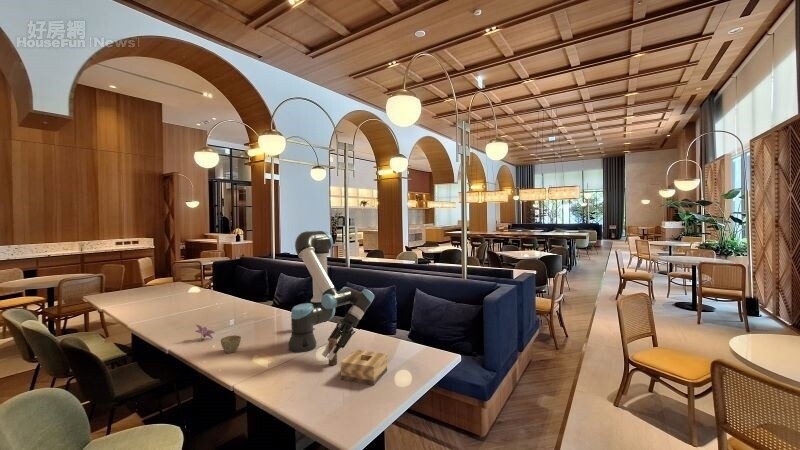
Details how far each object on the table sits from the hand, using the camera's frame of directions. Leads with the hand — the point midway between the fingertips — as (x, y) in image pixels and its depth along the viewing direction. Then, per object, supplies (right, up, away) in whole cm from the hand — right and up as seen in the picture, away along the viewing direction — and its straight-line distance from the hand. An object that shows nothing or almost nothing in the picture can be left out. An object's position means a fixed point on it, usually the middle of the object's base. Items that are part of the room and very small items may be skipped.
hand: (326, 357), depth 165 cm
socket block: (+20, -5, -9) cm, 22 cm away
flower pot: (-56, -5, +20) cm, 60 cm away
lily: (-81, -5, +38) cm, 89 cm away
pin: (+3, -4, +3) cm, 6 cm away
